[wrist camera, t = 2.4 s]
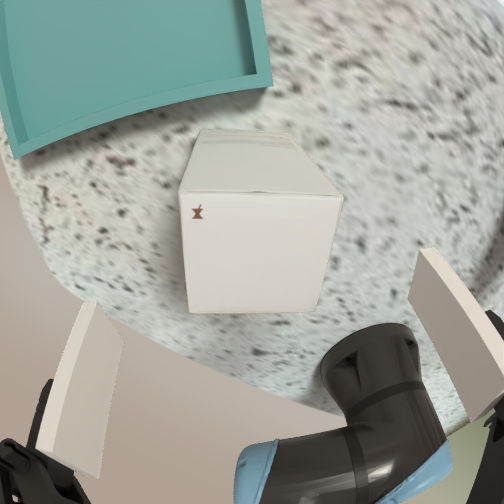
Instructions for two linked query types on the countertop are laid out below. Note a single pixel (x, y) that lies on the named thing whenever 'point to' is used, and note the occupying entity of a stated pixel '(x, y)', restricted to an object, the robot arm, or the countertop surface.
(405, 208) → the countertop surface
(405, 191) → the countertop surface
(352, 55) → the countertop surface
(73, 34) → the teal tray
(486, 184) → the countertop surface
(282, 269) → the supplement box
